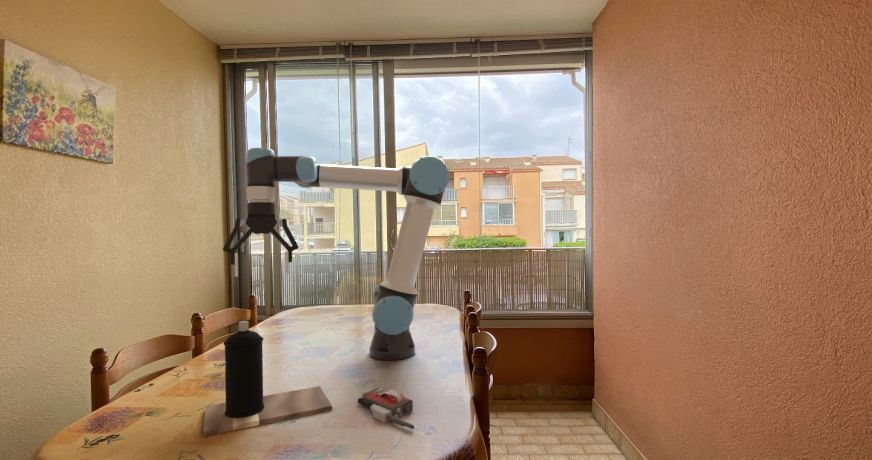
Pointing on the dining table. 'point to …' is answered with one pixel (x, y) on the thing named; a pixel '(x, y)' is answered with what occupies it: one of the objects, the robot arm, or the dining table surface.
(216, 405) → the board
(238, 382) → the aerosol can
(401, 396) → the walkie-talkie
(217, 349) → the dining table surface
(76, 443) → the dining table surface
